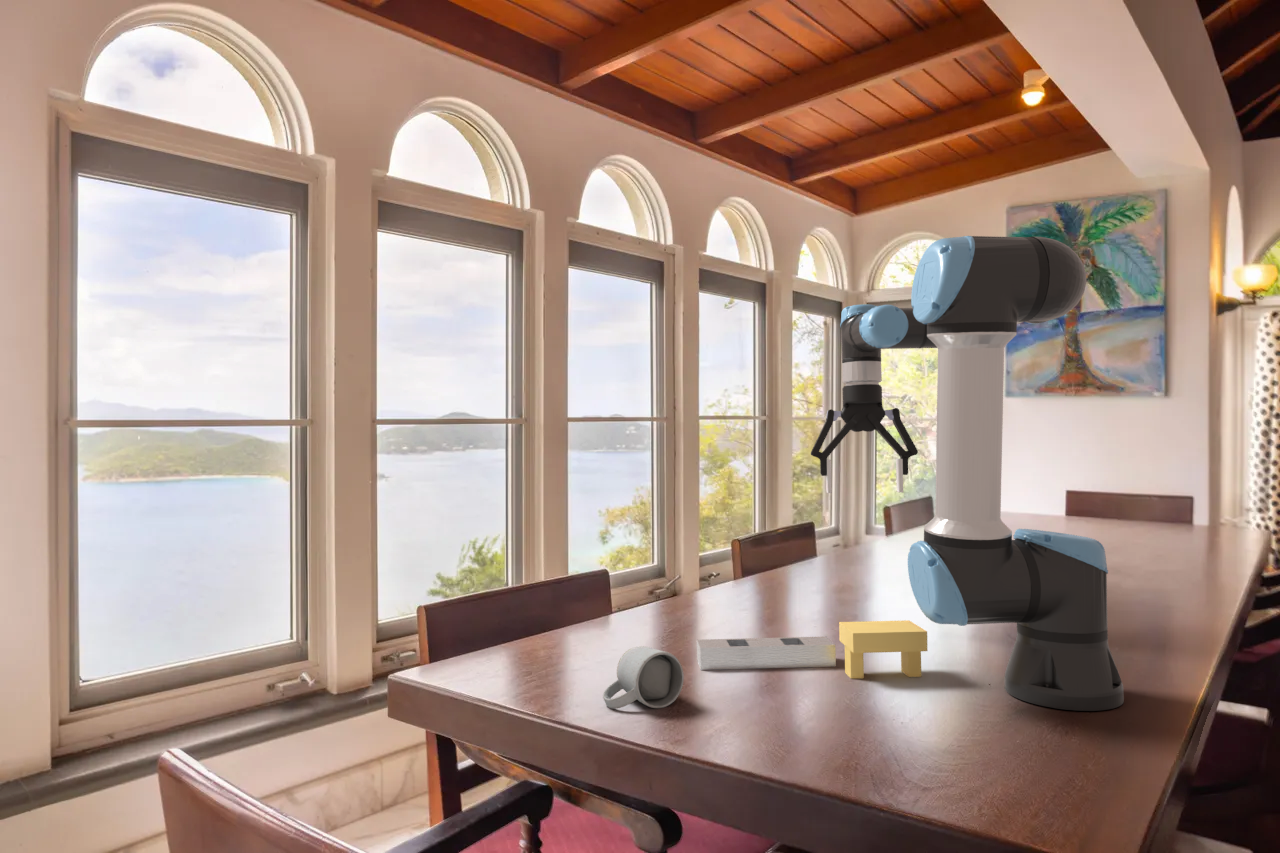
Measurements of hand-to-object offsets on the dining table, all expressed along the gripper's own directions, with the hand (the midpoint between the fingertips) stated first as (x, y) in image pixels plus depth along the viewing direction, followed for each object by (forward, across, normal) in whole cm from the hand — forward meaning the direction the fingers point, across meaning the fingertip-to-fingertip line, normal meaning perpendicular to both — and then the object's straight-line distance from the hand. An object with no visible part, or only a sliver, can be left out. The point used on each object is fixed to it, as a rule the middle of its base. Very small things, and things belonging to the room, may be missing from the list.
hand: (864, 492), depth 163 cm
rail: (+26, +20, +28) cm, 44 cm away
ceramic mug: (+27, +38, +50) cm, 68 cm away
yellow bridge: (+26, +2, +33) cm, 43 cm away
